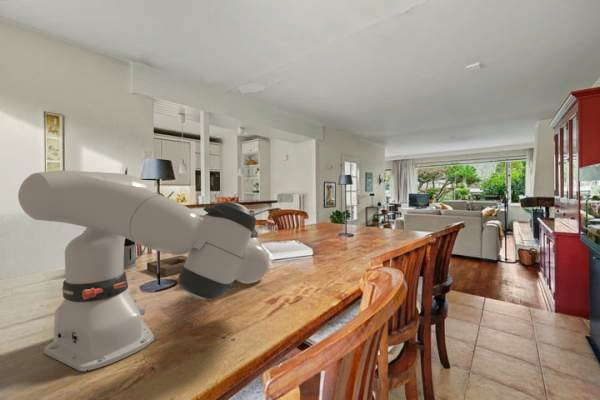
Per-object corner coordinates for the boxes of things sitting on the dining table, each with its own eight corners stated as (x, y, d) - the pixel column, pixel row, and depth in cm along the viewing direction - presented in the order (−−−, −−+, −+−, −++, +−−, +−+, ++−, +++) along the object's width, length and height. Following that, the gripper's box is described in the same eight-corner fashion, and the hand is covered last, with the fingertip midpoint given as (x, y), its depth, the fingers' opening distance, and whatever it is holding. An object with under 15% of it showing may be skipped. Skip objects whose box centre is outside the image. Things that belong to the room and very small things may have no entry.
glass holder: (124, 263, 125) (123, 231, 124) (152, 264, 124) (152, 232, 123) (109, 268, 116) (108, 234, 116) (139, 270, 115) (139, 235, 114)
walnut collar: (201, 267, 120) (201, 260, 120) (166, 276, 107) (166, 269, 106) (181, 261, 129) (181, 255, 129) (147, 269, 116) (147, 262, 116)
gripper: (218, 275, 98) (183, 273, 100) (240, 261, 118) (210, 259, 120) (218, 258, 97) (183, 256, 100) (240, 246, 117) (210, 245, 120)
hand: (198, 258), depth 110 cm, fingers open, 8 cm apart
